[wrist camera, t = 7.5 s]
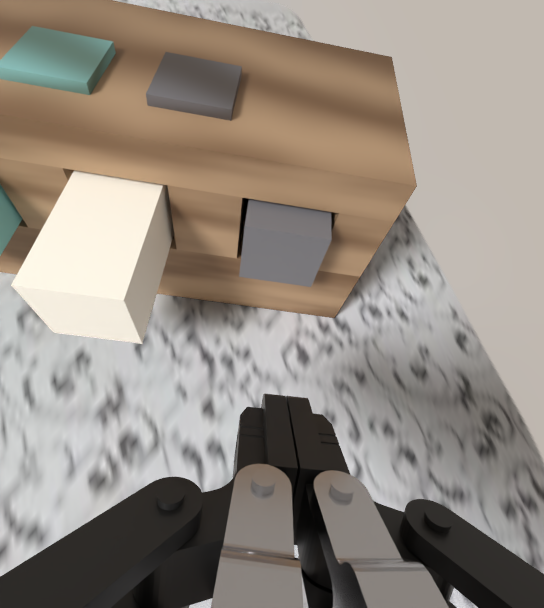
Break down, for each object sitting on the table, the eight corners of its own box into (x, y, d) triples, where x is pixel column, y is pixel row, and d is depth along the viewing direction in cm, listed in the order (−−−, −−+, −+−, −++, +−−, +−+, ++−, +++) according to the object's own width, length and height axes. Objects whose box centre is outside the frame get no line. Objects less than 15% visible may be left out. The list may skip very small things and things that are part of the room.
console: (334, 318, 25) (422, 176, 15) (-53, 264, 23) (-281, 53, 12) (332, 207, 31) (395, 47, 20) (21, 156, 29) (-92, -53, 18)
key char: (311, 287, 20) (331, 239, 16) (239, 276, 19) (244, 226, 16) (313, 168, 25) (330, 113, 21) (257, 158, 24) (264, 100, 21)
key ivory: (142, 343, 17) (123, 300, 13) (53, 332, 16) (11, 285, 13) (185, 195, 22) (179, 136, 18) (118, 184, 21) (100, 122, 18)
